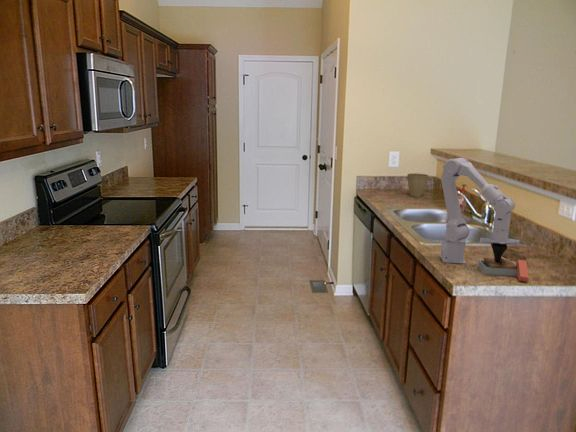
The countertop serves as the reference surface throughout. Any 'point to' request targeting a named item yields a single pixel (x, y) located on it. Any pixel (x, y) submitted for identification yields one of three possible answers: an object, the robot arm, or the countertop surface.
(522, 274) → the red block
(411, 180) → the plant pot
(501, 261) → the lid
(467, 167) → the robot arm
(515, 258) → the wooden fragment
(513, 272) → the gray box
